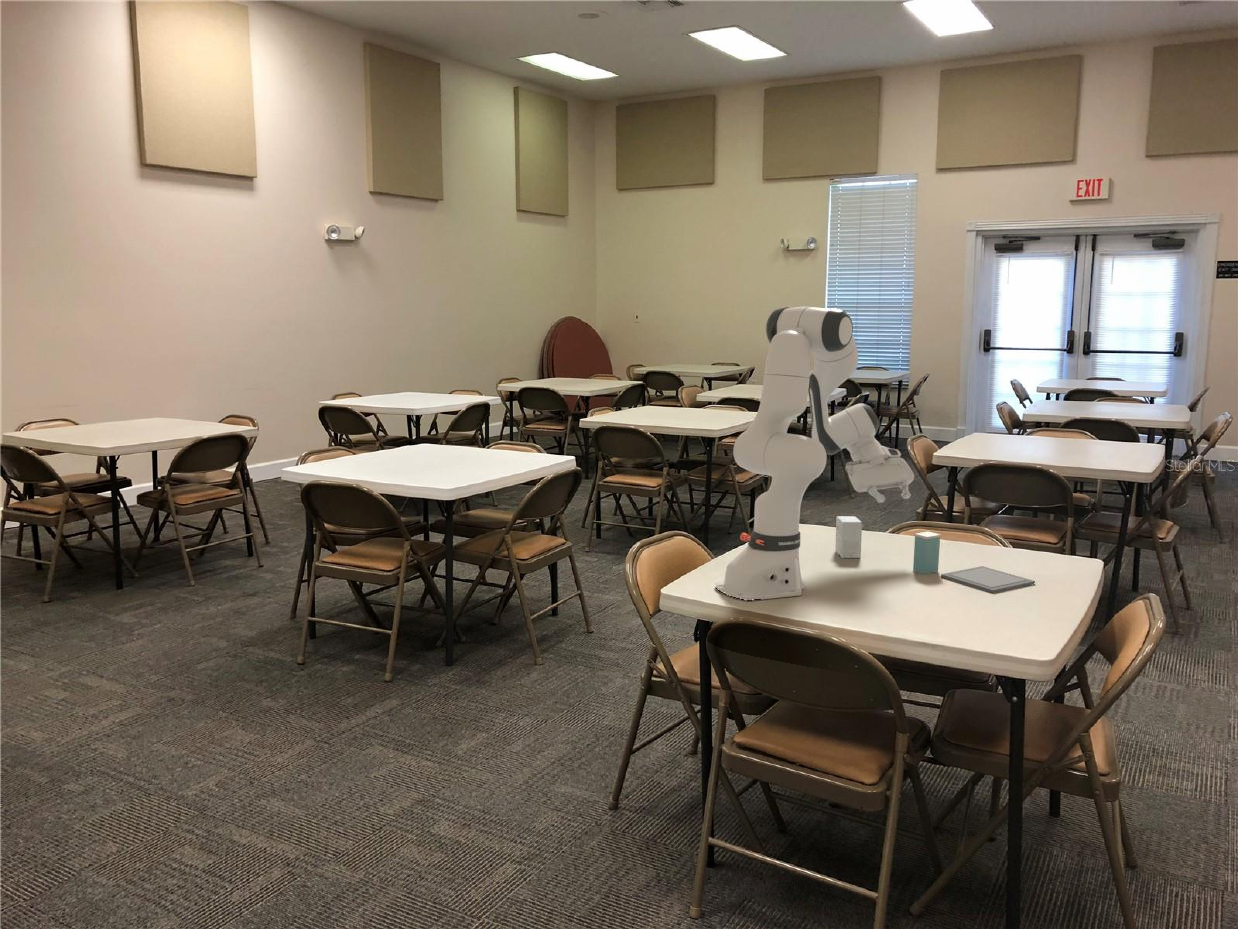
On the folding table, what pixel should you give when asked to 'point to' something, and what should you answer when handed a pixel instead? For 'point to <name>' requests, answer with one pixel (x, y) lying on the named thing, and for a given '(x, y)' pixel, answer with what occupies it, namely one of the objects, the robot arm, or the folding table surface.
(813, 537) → the folding table surface
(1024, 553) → the folding table surface
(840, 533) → the small box
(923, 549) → the teal tin
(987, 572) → the plate
